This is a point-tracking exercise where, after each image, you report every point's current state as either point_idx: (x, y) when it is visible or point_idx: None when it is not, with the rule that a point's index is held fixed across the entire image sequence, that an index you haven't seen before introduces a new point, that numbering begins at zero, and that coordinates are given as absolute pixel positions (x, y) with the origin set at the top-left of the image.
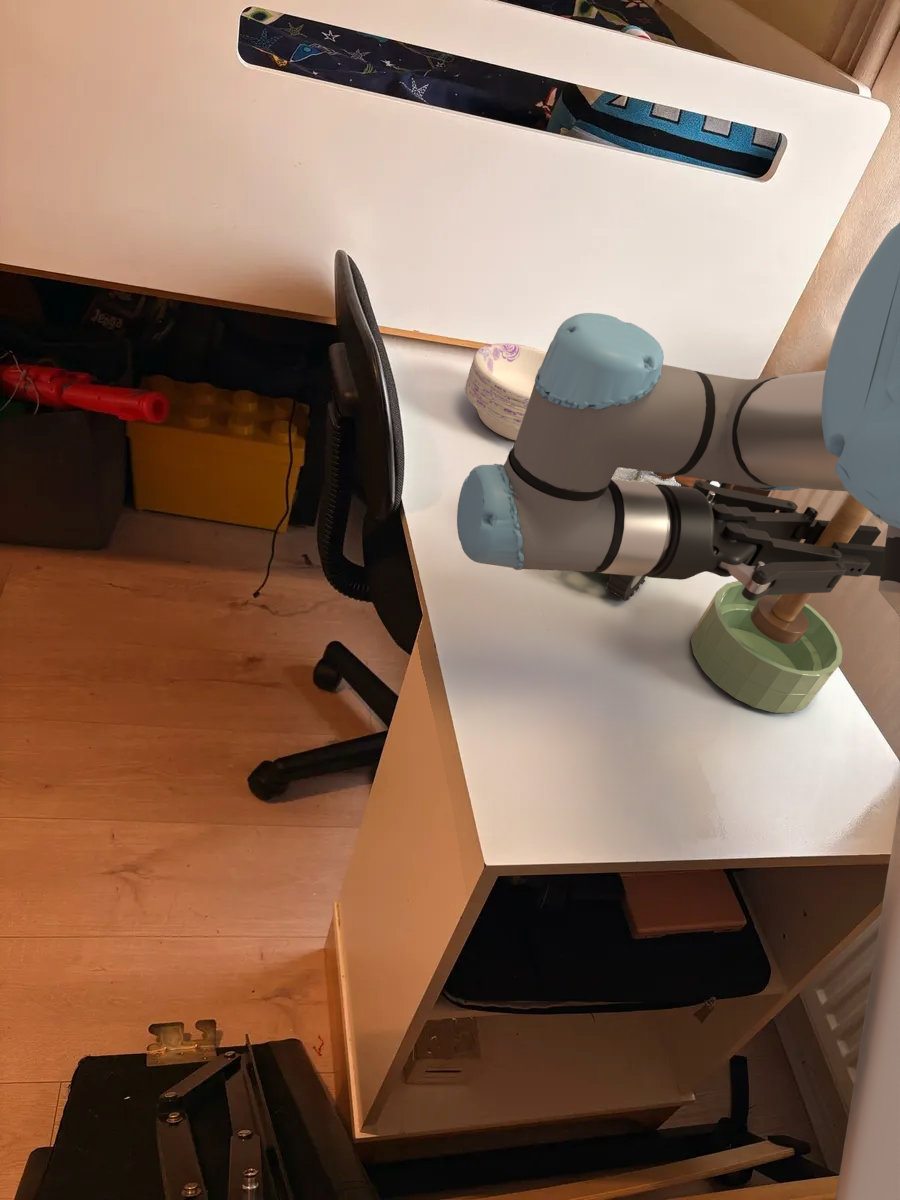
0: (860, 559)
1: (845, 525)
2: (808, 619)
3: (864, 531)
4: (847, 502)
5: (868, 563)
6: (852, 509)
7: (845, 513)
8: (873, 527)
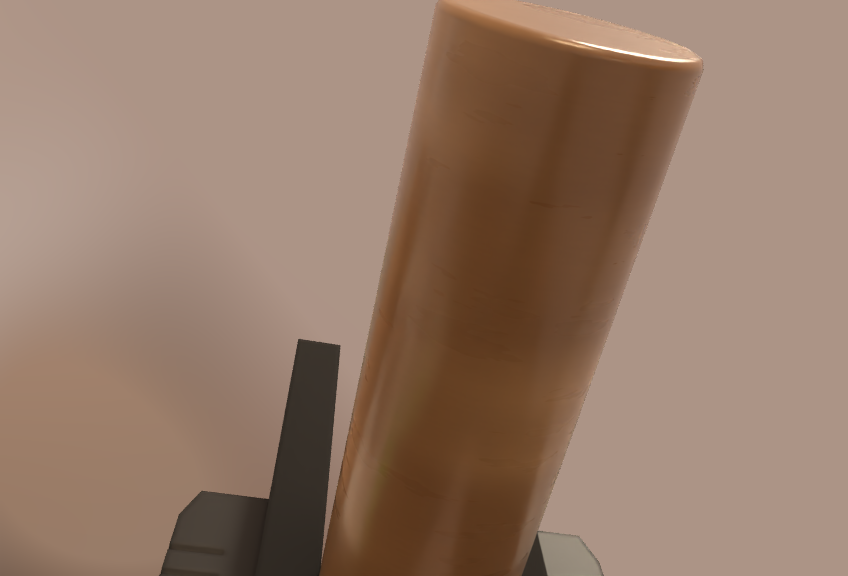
0: (561, 574)
1: (521, 558)
2: None
3: (332, 409)
4: (484, 437)
5: (587, 550)
6: (549, 450)
7: (510, 510)
8: (306, 354)
